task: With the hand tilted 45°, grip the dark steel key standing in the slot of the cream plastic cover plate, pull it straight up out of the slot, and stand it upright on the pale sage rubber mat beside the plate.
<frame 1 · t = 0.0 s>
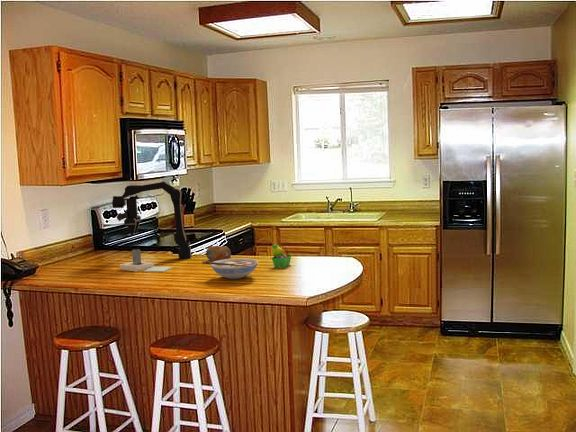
hand: (133, 234, 355), 15 cm above the countertop, tool pointing down, fingers open, 9 cm apart
key mat: (158, 269, 325), on the countertop
ramen bowl: (235, 278, 298), on the countertop
cover plate: (137, 268, 332), on the countertop
fruit basket: (281, 266, 323), on the countertop
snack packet: (219, 261, 344), on the countertop
t key: (136, 259, 331), in the cover plate
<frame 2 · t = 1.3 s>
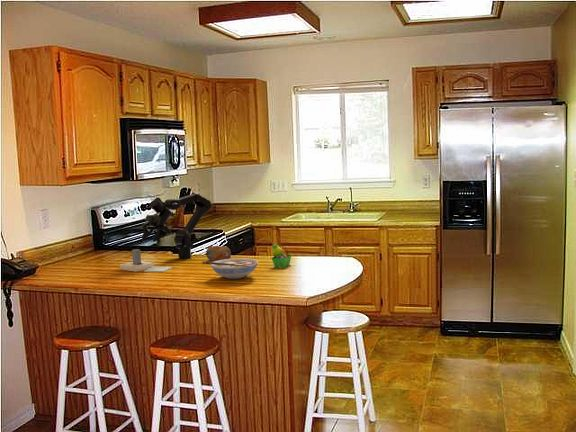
hand: (147, 241, 336), 13 cm above the countertop, tool tilted 45°, fingers open, 9 cm apart
nothing on the countertop moved.
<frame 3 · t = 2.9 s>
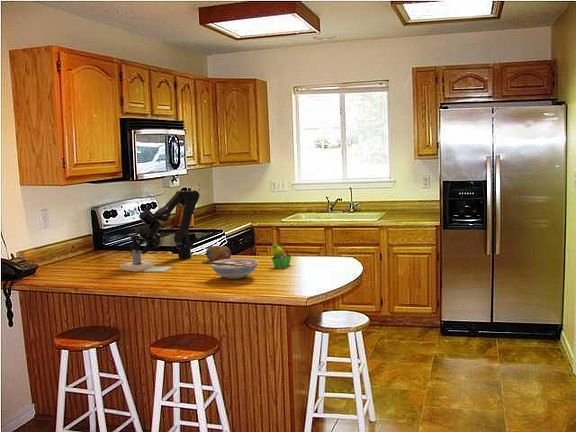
hand: (136, 253, 331), 8 cm above the countertop, tool tilted 45°, fingers open, 9 cm apart
nothing on the countertop moved.
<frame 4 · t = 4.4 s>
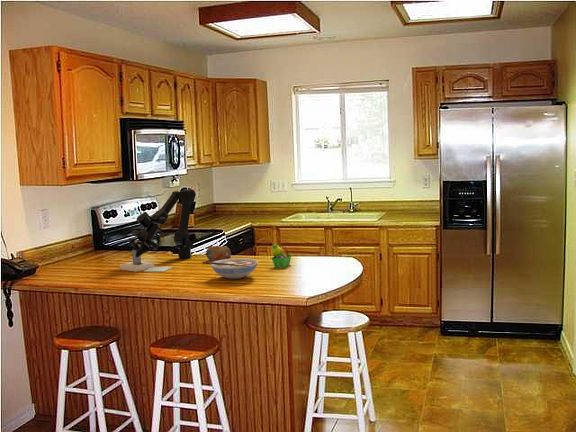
hand: (134, 256, 330), 7 cm above the countertop, tool tilted 45°, fingers closed on t key, 3 cm apart
t key: (136, 259, 331), in the cover plate, touching gripper
everything else where it was.
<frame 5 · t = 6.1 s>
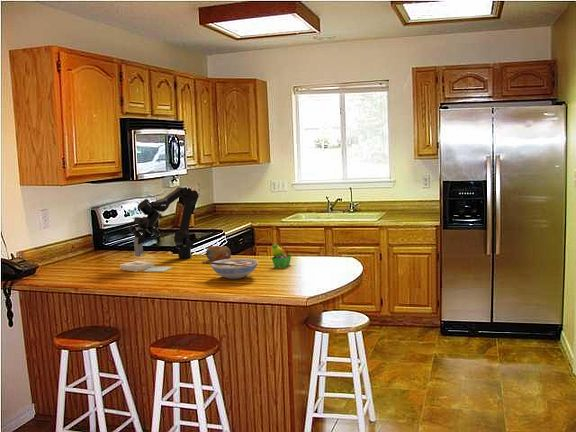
hand: (136, 243, 328), 13 cm above the countertop, tool tilted 45°, fingers closed on t key, 3 cm apart
t key: (138, 246, 329), point 12 cm above the countertop, touching gripper
everything else where it was.
when the fingers open (8 cm above the countertop, at t = 8.3 s): t key stays where it is, resting on key mat.
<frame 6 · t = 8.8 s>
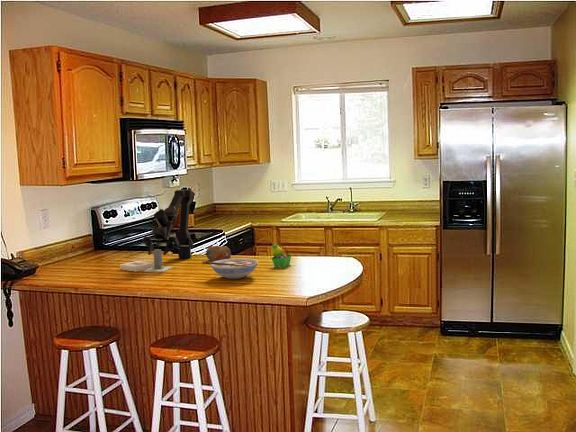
hand: (156, 254, 323), 8 cm above the countertop, tool tilted 45°, fingers open, 8 cm apart
t key: (157, 259, 325), on the key mat, point 6 cm above the countertop
everything else where it was.
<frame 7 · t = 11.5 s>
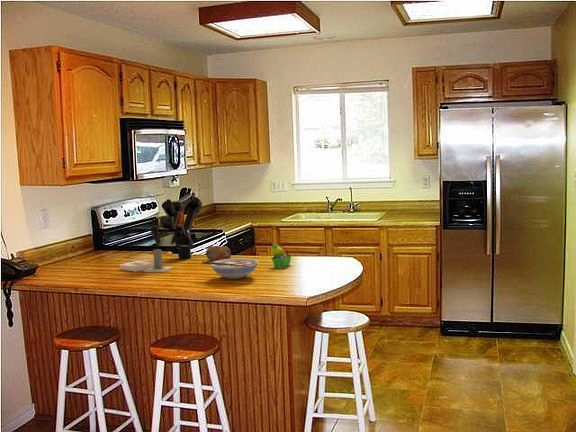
hand: (163, 243, 332), 13 cm above the countertop, tool tilted 45°, fingers open, 9 cm apart
nothing on the countertop moved.
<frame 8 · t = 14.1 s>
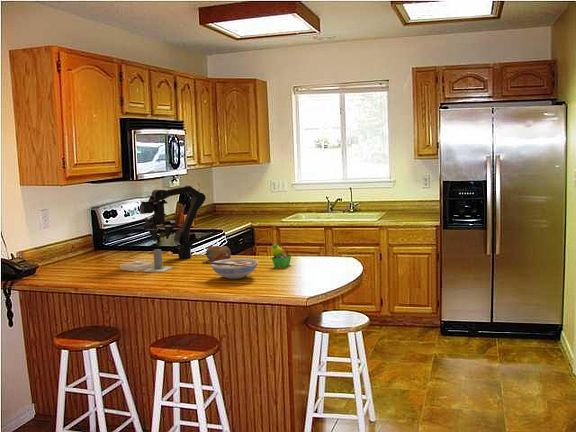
hand: (160, 240, 348), 12 cm above the countertop, tool pointing down, fingers open, 9 cm apart
nothing on the countertop moved.
at the end: t key inside the target area on the key mat (0.0 cm from its centre), point 5.6 cm above the key mat's base; t key tilted 0°; the gripper is holding nothing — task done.
